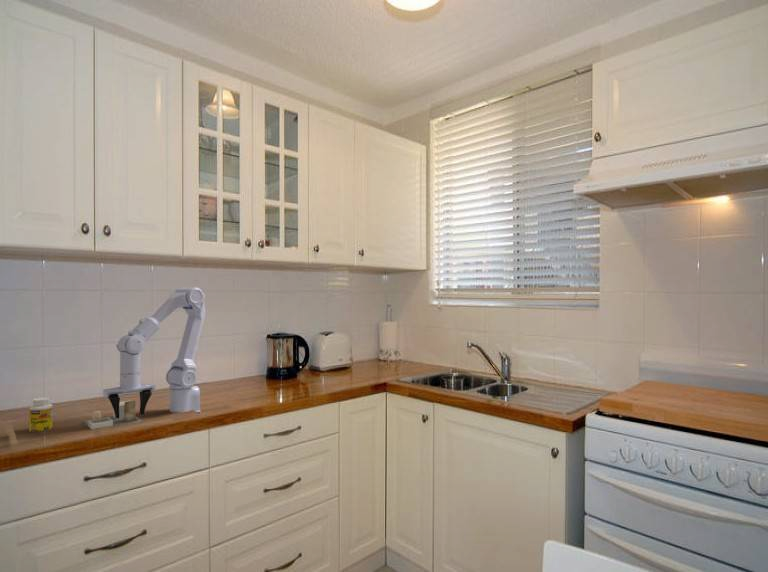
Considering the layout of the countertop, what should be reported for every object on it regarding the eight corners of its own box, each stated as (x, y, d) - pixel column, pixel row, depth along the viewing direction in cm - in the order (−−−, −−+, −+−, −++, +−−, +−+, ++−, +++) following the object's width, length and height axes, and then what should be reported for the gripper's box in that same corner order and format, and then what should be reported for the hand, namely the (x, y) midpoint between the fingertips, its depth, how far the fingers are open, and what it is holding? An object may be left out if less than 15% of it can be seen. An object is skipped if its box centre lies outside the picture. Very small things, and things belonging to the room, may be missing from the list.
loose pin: (133, 419, 148) (133, 400, 148) (136, 421, 145) (136, 402, 146) (123, 420, 146) (123, 401, 146) (125, 422, 143) (125, 403, 144)
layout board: (131, 416, 155) (132, 404, 155) (142, 424, 145) (142, 411, 145) (83, 424, 146) (83, 411, 146) (91, 433, 136) (91, 419, 136)
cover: (131, 413, 155) (131, 400, 155) (135, 416, 151) (135, 403, 151) (112, 416, 151) (113, 403, 151) (116, 419, 147) (116, 405, 147)
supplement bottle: (26, 436, 133) (27, 401, 133) (32, 431, 138) (32, 397, 138) (49, 434, 135) (50, 399, 136) (54, 429, 140) (55, 396, 141)
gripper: (151, 369, 154) (150, 409, 153) (101, 374, 144) (100, 417, 144) (157, 371, 148) (157, 413, 148) (106, 376, 139) (105, 422, 138)
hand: (129, 415), depth 146 cm, fingers open, 6 cm apart
